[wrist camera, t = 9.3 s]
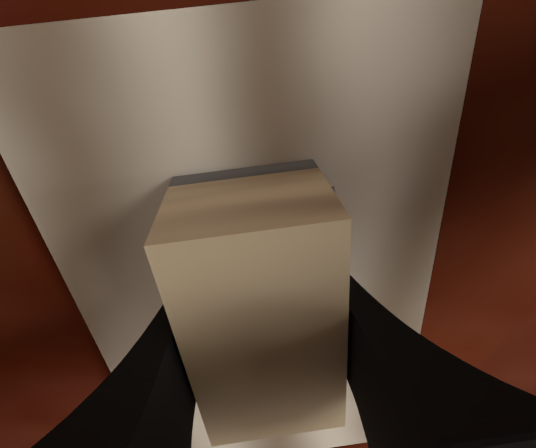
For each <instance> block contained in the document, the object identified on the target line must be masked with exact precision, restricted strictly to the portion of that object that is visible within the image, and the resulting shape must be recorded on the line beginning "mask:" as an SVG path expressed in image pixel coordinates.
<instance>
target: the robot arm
mask: <svg viewBox="0 0 536 448" xmlns="http://www.w3.org/2000/svg"><path fill="white" fill-rule="evenodd" d="M347 381H348V383H349V386H350V388H351V391H352V394H353V396H354V399H355V402H356V405H357V408H358V412H359V415H360V419H361V422H362V426H363V429H364V433H365V436H366V440H367V443H368V447H369V448H536V396H534V395H532V394H530V393H528V392H525V391H523V390H521V389H518V388H516V387H514V386H512V385H509V384H507V383H505V382H503V381H501V380H499V379H497V378H495V377H493V376H491V375H489V374H487V373H485V372H483V371H481V370H479V369H477V368H475V367H473V366H472V365H470V364H468V363H466V362H464V361H462V360H461V359H459V358H457V357H456V356H454V355H452V354H450V353H449V352H447V351H445V350H444V349H442V348H440V347H439V346H437V345H435V344H434V343H432V342H431V341H429V340H428V339H426V338H425V337H423V336H422V335H420V334H419V333H417V332H416V331H415V330H413V329H412V328H410V327H409V326H408V325H406V324H405V323H404V322H402V321H401V320H400V319H399V318H397V317H396V316H395V315H394V314H392V313H391V312H390V311H389V310H388V309H386V308H385V307H384V306H383V305H382V304H381V303H379V302H378V301H377V300H376V299H375V298H374V297H373V296H372V295H371V294H369V293H368V292H367V291H366V290H365V289H364V288H363V287H362V286H361V285H360V284H359V283H358V282H357V281H356V280H355V279H354V278H353V277H352V276H351V275H350V286H349V320H348V353H347ZM195 406H196V399H195V396H194V393H193V390H192V388H191V385H190V382H189V379H188V376H187V373H186V370H185V367H184V364H183V361H182V358H181V355H180V352H179V349H178V346H177V343H176V340H175V337H174V335H173V332H172V329H171V326H170V323H169V320H168V317H167V314H166V311H165V308H164V305H162V306H161V308H160V309H159V311H158V312H157V314H156V315H155V317H154V318H153V320H152V321H151V323H150V324H149V325H148V327H147V328H146V330H145V331H144V332H143V334H142V335H141V337H140V338H139V339H138V340H137V342H136V343H135V344H134V346H133V347H132V348H131V349H130V351H129V352H128V353H127V354H126V356H125V357H124V358H123V359H122V361H121V362H120V363H119V364H118V365H117V367H116V368H115V369H114V370H113V371H112V372H111V373H110V374H109V376H108V377H107V378H106V379H105V380H104V381H103V382H102V383H101V384H100V385H99V386H98V387H97V388H96V389H95V390H94V391H93V392H92V393H91V394H90V395H89V396H88V397H87V398H86V399H85V400H84V401H83V402H82V403H81V404H80V405H79V406H78V407H77V408H76V409H75V410H74V411H73V412H72V413H71V414H70V415H68V416H67V417H66V418H65V419H64V420H63V421H62V422H61V423H59V424H58V425H57V426H56V427H55V428H54V429H53V430H51V431H50V432H49V433H48V434H47V435H46V436H44V437H43V438H42V439H41V440H40V441H38V442H37V443H36V444H35V445H34V446H32V447H31V448H191V444H192V429H193V420H194V413H195Z"/></svg>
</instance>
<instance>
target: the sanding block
mask: <svg viewBox="0 0 536 448" xmlns="http://www.w3.org/2000/svg"><path fill="white" fill-rule="evenodd" d="M144 249H145V252H146V255H147V258H148V261H149V264H150V267H151V270H152V273H153V276H154V279H155V282H156V284H157V287H158V290H159V293H160V296H161V299H162V302H163V305H164V308H165V311H166V314H167V317H168V320H169V323H170V326H171V329H172V332H173V335H174V337H175V340H176V343H177V346H178V349H179V352H180V355H181V358H182V361H183V364H184V367H185V370H186V373H187V376H188V379H189V382H190V385H191V388H192V390H193V393H194V396H195V399H196V402H197V405H198V408H199V411H200V414H201V417H202V420H203V423H204V426H205V429H206V432H207V435H208V438H209V441H210V443H211V446H219V445H226V444H232V443H239V442H245V441H252V440H258V439H265V438H271V437H278V436H285V435H291V434H298V433H304V432H311V431H317V430H324V429H331V428H337V427H344V426H345V420H346V387H347V353H348V320H349V286H350V253H351V217H350V216H349V214H348V213H347V211H346V210H345V208H344V206H343V205H342V203H341V202H340V200H339V199H338V197H337V195H336V194H335V192H334V191H333V189H332V188H331V186H330V185H329V183H328V181H327V180H326V178H325V177H324V175H323V174H322V172H321V171H320V169H319V167H318V166H317V164H316V163H315V161H314V160H313V159H310V160H302V161H294V162H286V163H278V164H270V165H262V166H254V167H246V168H238V169H230V170H222V171H215V172H207V173H199V174H191V175H183V176H175V177H172V179H171V181H170V184H169V186H168V188H167V191H166V193H165V196H164V198H163V201H162V203H161V205H160V208H159V210H158V213H157V215H156V218H155V220H154V222H153V225H152V227H151V230H150V232H149V234H148V237H147V239H146V242H145V244H144Z"/></svg>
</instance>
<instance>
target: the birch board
mask: <svg viewBox="0 0 536 448" xmlns="http://www.w3.org/2000/svg"><path fill="white" fill-rule="evenodd" d="M482 2H483V0H256V1H247V2H237V3H228V4H218V5H209V6H199V7H190V8H180V9H170V10H161V11H151V12H142V13H132V14H123V15H113V16H104V17H94V18H85V19H75V20H66V21H56V22H47V23H37V24H28V25H18V26H9V27H0V154H1V156H2V158H3V160H4V162H5V164H6V166H7V168H8V170H9V172H10V174H11V176H12V178H13V180H14V182H15V184H16V186H17V188H18V190H19V192H20V194H21V196H22V198H23V200H24V201H25V203H26V205H27V207H28V209H29V211H30V213H31V215H32V217H33V219H34V221H35V223H36V225H37V227H38V229H39V231H40V233H41V235H42V237H43V239H44V241H45V243H46V245H47V247H48V249H49V251H50V253H51V255H52V257H53V259H54V261H55V263H56V265H57V267H58V269H59V271H60V273H61V275H62V277H63V279H64V281H65V283H66V285H67V287H68V289H69V291H70V293H71V295H72V297H73V299H74V300H75V302H76V304H77V306H78V308H79V310H80V312H81V314H82V316H83V318H84V320H85V322H86V324H87V326H88V328H89V330H90V332H91V334H92V336H93V338H94V340H95V342H96V344H97V346H98V348H99V350H100V352H101V354H102V356H103V358H104V360H105V362H106V364H107V366H108V368H109V370H110V372H112V371H113V370H114V369H115V368H116V367H117V365H118V364H119V363H120V362H121V361H122V359H123V358H124V357H125V356H126V354H127V353H128V352H129V351H130V349H131V348H132V347H133V346H134V344H135V343H136V342H137V340H138V339H139V338H140V337H141V335H142V334H143V332H144V331H145V330H146V328H147V327H148V325H149V324H150V323H151V321H152V320H153V318H154V317H155V315H156V314H157V312H158V311H159V309H160V308H161V306H162V305H163V302H162V299H161V296H160V293H159V290H158V287H157V284H156V282H155V279H154V276H153V273H152V270H151V267H150V264H149V261H148V258H147V255H146V252H145V249H144V244H145V242H146V239H147V237H148V234H149V232H150V230H151V227H152V225H153V222H154V220H155V218H156V215H157V213H158V210H159V208H160V205H161V203H162V201H163V198H164V196H165V193H166V191H167V188H168V186H169V184H170V181H171V179H172V177H175V176H183V175H191V174H199V173H207V172H215V171H222V170H230V169H238V168H246V167H254V166H262V165H270V164H278V163H286V162H294V161H302V160H310V159H313V160H314V161H315V163H316V164H317V166H318V167H319V169H320V171H321V172H322V174H323V175H324V177H325V178H326V180H327V181H328V183H329V185H330V186H331V188H332V189H333V191H334V192H335V194H336V195H337V197H338V199H339V200H340V202H341V203H342V205H343V206H344V208H345V210H346V211H347V213H348V214H349V216H350V217H351V253H350V275H351V276H352V277H353V278H354V279H355V280H356V281H357V282H358V283H359V284H360V285H361V286H362V287H363V288H364V289H365V290H366V291H367V292H368V293H369V294H371V295H372V296H373V297H374V298H375V299H376V300H377V301H378V302H379V303H381V304H382V305H383V306H384V307H385V308H386V309H388V310H389V311H390V312H391V313H392V314H394V315H395V316H396V317H397V318H399V319H400V320H401V321H402V322H404V323H405V324H406V325H408V326H409V327H410V328H412V329H413V330H415V331H416V332H417V333H419V334H420V332H421V327H422V321H423V316H424V311H425V305H426V300H427V295H428V289H429V284H430V279H431V273H432V268H433V263H434V257H435V252H436V247H437V242H438V236H439V231H440V226H441V220H442V215H443V210H444V204H445V199H446V194H447V188H448V183H449V178H450V172H451V167H452V162H453V156H454V151H455V146H456V140H457V135H458V130H459V124H460V119H461V114H462V109H463V103H464V98H465V93H466V87H467V82H468V77H469V71H470V66H471V61H472V55H473V50H474V45H475V39H476V34H477V29H478V23H479V18H480V13H481V7H482ZM365 442H367V440H366V436H365V433H364V429H363V426H362V422H361V419H360V415H359V412H358V408H357V405H356V402H355V399H354V396H353V394H352V391H351V388H350V386H349V383H348V381H347V387H346V420H345V426H344V427H337V428H331V429H324V430H317V431H311V432H304V433H298V434H291V435H285V436H278V437H271V438H265V439H258V440H252V441H245V442H239V443H232V444H226V445H219V446H211V443H210V441H209V438H208V435H207V432H206V429H205V426H204V423H203V420H202V417H201V414H200V411H199V408H198V405H197V402H196V406H195V413H194V420H193V429H192V444H191V448H331V447H338V446H344V445H351V444H358V443H365Z"/></svg>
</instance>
